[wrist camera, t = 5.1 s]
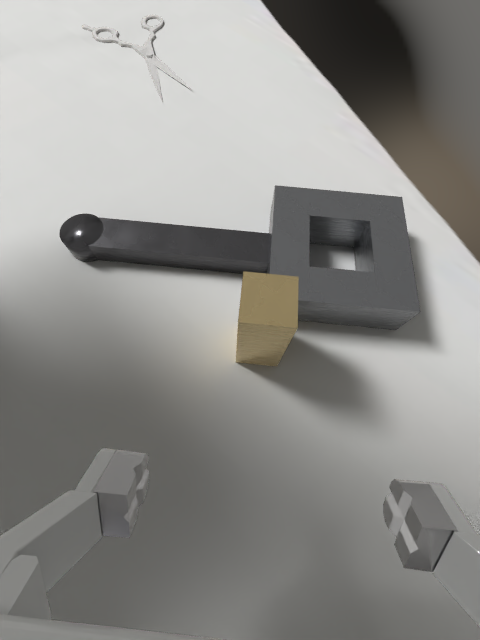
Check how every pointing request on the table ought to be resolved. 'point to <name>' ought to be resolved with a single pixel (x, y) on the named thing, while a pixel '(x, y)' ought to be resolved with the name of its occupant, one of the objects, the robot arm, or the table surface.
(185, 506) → the table surface
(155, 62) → the scissors
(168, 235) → the grey handled square frame
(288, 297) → the bar
